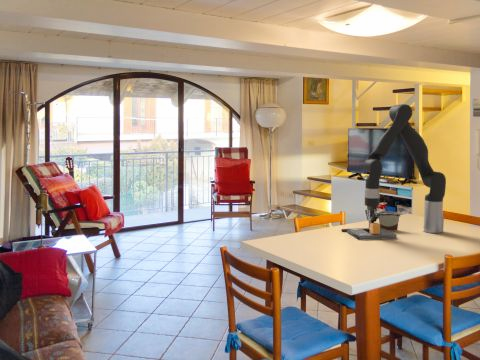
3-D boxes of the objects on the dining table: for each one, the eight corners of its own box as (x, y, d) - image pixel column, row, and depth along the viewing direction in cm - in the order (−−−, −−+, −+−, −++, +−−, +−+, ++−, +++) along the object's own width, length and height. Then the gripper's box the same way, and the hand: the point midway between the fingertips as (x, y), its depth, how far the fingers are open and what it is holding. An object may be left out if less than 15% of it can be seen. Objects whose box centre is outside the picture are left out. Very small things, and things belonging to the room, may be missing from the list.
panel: (381, 231, 262) (382, 227, 262) (396, 238, 244) (396, 234, 244) (347, 232, 260) (347, 228, 259) (359, 239, 242) (359, 235, 242)
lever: (376, 234, 250) (377, 222, 249) (379, 236, 246) (380, 224, 245) (369, 235, 249) (369, 222, 248) (372, 236, 245) (372, 224, 244)
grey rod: (359, 230, 263) (359, 228, 263) (360, 231, 262) (360, 228, 262) (340, 231, 262) (340, 228, 262) (341, 231, 261) (341, 229, 260)
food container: (397, 228, 269) (397, 211, 268) (399, 230, 263) (400, 213, 262) (375, 228, 270) (375, 210, 269) (377, 230, 264) (377, 212, 263)
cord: (346, 232, 259) (346, 230, 258) (349, 232, 259) (349, 230, 259) (357, 239, 242) (357, 237, 242) (360, 239, 242) (360, 236, 242)
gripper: (384, 198, 244) (383, 231, 246) (374, 194, 257) (373, 226, 259) (370, 198, 243) (369, 231, 245) (360, 195, 256) (360, 226, 258)
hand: (371, 228), depth 252 cm, fingers closed
